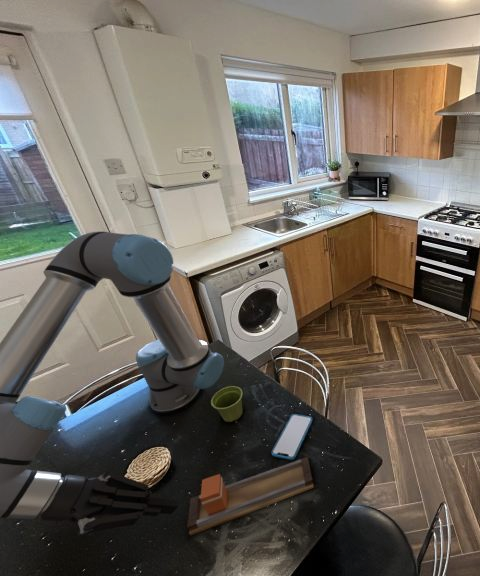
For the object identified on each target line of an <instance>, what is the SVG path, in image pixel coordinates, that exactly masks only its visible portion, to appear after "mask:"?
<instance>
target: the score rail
mask: <svg viewBox="0 0 480 576" xmlns="http://www.w3.org/2000/svg"><path fill="white" fill-rule="evenodd" d="M225 487H226V490H227V492H228V509H226V510H223V511H220V512H218V513H215V514H212V515H210V516H209V515H208V513H207V511H206V509H205V507H204V505H202V501H201V499H200V498H201V494H199V495H196V496H193V497H190V500H189V508H188V516H187V523H186V528H187V530H188V535H189V536H190V537H191V536H193V535H195V534H199V533H200V532H203V531H206V530H209V529H211V528H213V527H217V526H219V525H221V524H224V523H226V522H229V521H232V520H234V519H237V518H239V517H242V516H245V515H247V514H250V513H253V512H255V511H258V510H260V509H262V508H265V507H268V506H270V505H273V504H275V503H278V502H280V501H283V500H285V499H288V498H291V497H293V496H296V495H298V494H301V493H304V492H306V491H309V490H311V489H314V488H315V487H314V481H313V476H312V471H311V466H310V460H309V457H308V456H306V457H304V458H301V459H297V460H295V461H292V462H289V463H287V464H285V465H280V466H278V467H275V468H272V469H270V470H267V471H263V472H260V473H258V474H256V475H252V476H250V477H247V478H244V479H241V480H239V481H235V482H232V483H230V484H227V485H225Z"/></svg>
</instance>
